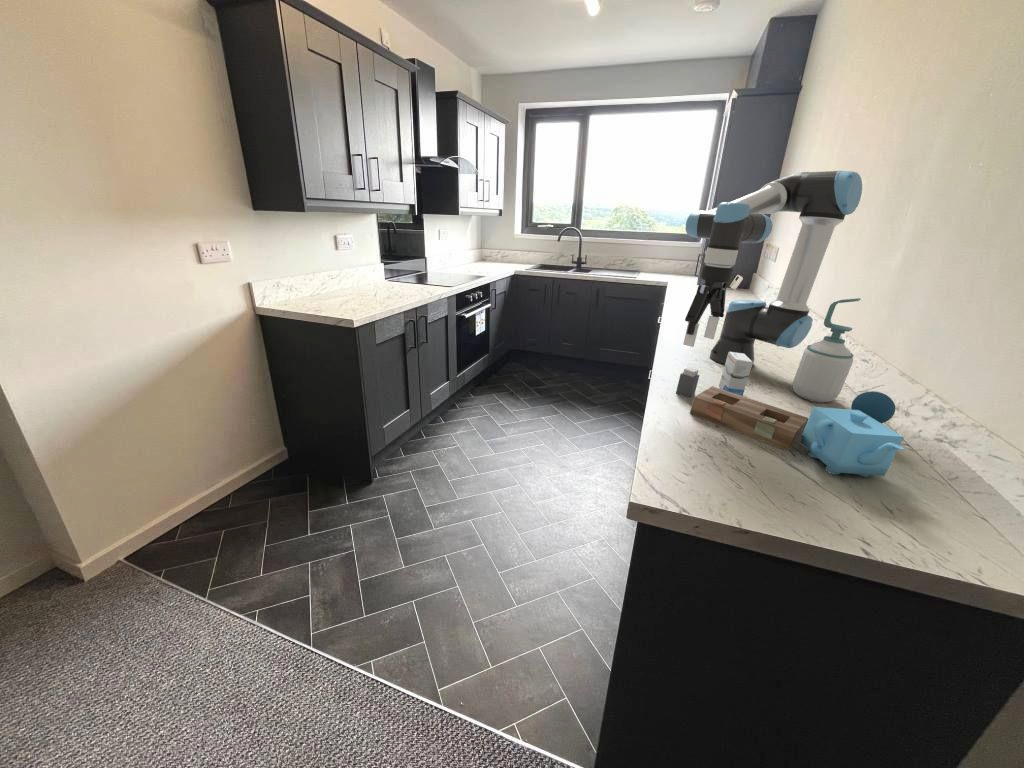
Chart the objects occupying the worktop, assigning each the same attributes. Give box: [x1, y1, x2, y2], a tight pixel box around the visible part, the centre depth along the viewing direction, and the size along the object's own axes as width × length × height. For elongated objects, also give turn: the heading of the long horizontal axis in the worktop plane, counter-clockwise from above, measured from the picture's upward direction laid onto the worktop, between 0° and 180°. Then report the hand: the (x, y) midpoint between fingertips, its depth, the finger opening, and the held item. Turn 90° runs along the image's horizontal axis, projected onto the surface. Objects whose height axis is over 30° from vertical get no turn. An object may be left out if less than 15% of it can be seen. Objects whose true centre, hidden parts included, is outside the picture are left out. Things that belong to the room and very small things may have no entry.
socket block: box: [689, 386, 809, 452], centre depth 107 cm, size 12×24×5 cm, turn 43°
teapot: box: [799, 406, 905, 478], centre depth 88 cm, size 18×16×13 cm
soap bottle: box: [792, 297, 861, 403], centre depth 123 cm, size 12×12×31 cm
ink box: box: [718, 352, 754, 396], centre depth 126 cm, size 8×5×12 cm, turn 168°
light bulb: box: [850, 390, 896, 424], centre depth 105 cm, size 8×8×12 cm
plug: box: [675, 366, 700, 398], centre depth 123 cm, size 4×4×8 cm
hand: (698, 341), depth 118 cm, fingers open, 13 cm apart
